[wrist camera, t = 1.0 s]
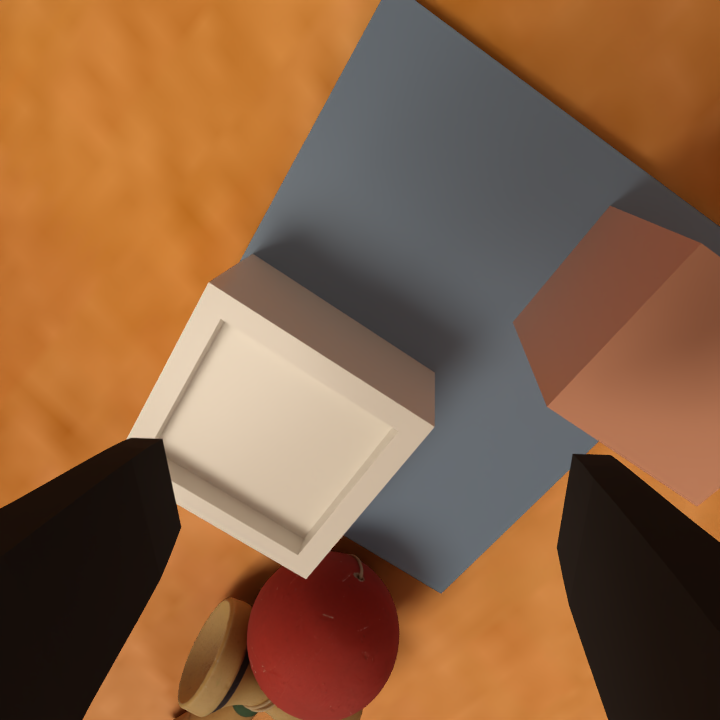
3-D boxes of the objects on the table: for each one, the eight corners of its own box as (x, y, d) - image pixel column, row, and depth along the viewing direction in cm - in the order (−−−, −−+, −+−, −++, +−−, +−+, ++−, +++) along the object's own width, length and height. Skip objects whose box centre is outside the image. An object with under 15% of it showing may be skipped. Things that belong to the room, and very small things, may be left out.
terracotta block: (724, 288, 16) (869, 366, 11) (618, 393, 18) (697, 506, 13) (609, 205, 16) (701, 243, 10) (512, 322, 18) (547, 407, 12)
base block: (434, 372, 19) (434, 426, 15) (326, 507, 22) (305, 579, 18) (252, 253, 18) (208, 282, 14) (166, 411, 21) (112, 466, 17)
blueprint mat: (769, 266, 16) (776, 269, 16) (441, 586, 23) (440, 593, 23) (391, -14, 15) (390, -18, 14) (158, 416, 22) (153, 421, 21)
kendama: (267, 738, 31) (462, 607, 22) (202, 866, 26) (425, 764, 17) (168, 651, 32) (320, 486, 22) (83, 760, 26) (238, 601, 17)
